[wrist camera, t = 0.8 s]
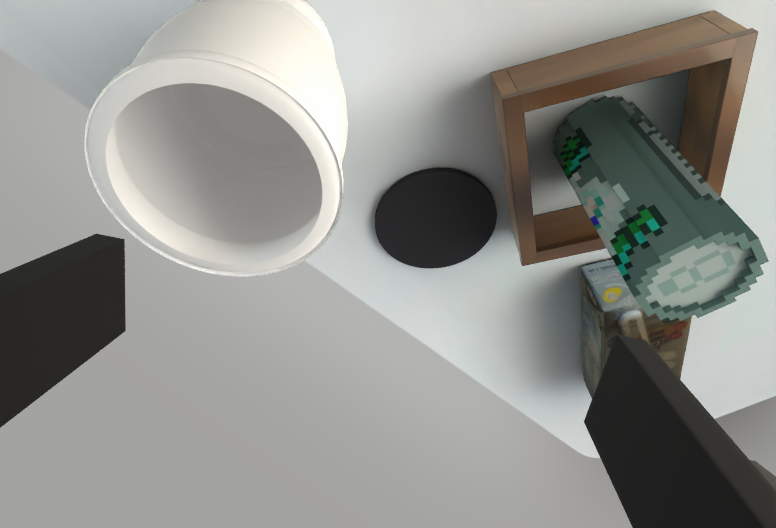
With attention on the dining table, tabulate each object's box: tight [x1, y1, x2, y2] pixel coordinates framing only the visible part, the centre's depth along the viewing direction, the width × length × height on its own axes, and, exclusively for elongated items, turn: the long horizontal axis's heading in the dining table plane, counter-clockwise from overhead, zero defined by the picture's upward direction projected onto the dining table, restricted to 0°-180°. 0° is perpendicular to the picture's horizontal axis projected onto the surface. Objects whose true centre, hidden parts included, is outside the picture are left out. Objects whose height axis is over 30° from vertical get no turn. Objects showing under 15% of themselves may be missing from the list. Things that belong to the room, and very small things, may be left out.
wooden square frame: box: [491, 11, 758, 266], centre depth 35 cm, size 14×14×4 cm
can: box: [553, 96, 768, 321], centre depth 31 cm, size 6×6×15 cm
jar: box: [84, 0, 348, 276], centre depth 26 cm, size 11×10×15 cm
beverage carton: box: [581, 259, 692, 399], centre depth 48 cm, size 8×19×7 cm, turn 16°
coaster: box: [375, 168, 497, 268], centre depth 41 cm, size 10×10×1 cm
